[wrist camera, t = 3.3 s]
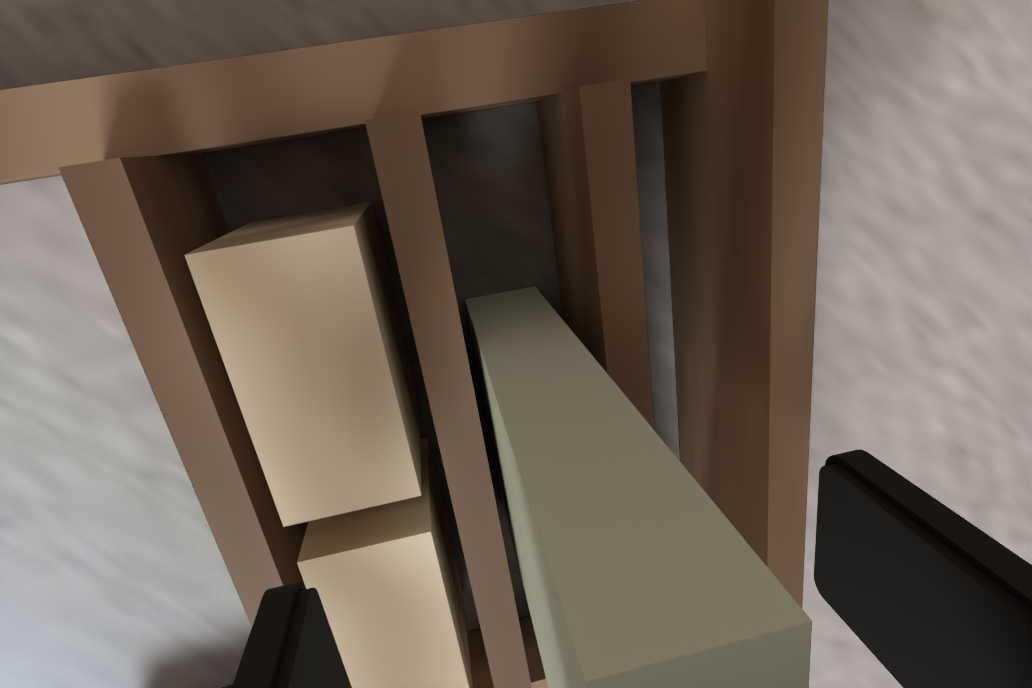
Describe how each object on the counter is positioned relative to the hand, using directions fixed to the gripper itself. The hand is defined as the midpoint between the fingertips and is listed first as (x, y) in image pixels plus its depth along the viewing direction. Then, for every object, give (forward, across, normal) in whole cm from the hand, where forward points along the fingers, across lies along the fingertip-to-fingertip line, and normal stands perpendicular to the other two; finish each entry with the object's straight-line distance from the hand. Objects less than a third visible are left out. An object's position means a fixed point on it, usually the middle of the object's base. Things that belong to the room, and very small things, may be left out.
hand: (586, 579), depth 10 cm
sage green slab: (+7, 0, 0) cm, 7 cm away
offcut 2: (+7, +4, +4) cm, 9 cm away
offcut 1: (+7, +4, -4) cm, 9 cm away
